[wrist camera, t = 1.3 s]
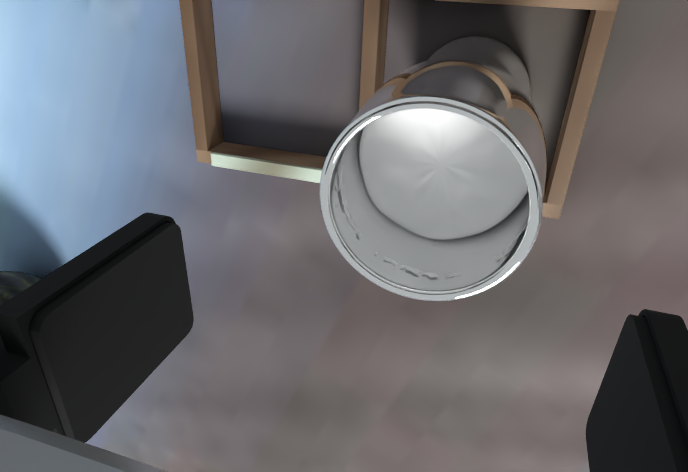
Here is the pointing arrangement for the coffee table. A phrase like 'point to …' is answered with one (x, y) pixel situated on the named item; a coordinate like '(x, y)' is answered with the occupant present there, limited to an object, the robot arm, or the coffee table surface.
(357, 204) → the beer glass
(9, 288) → the decorative stone
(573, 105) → the coaster frame
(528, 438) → the coffee table surface
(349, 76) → the coffee table surface
